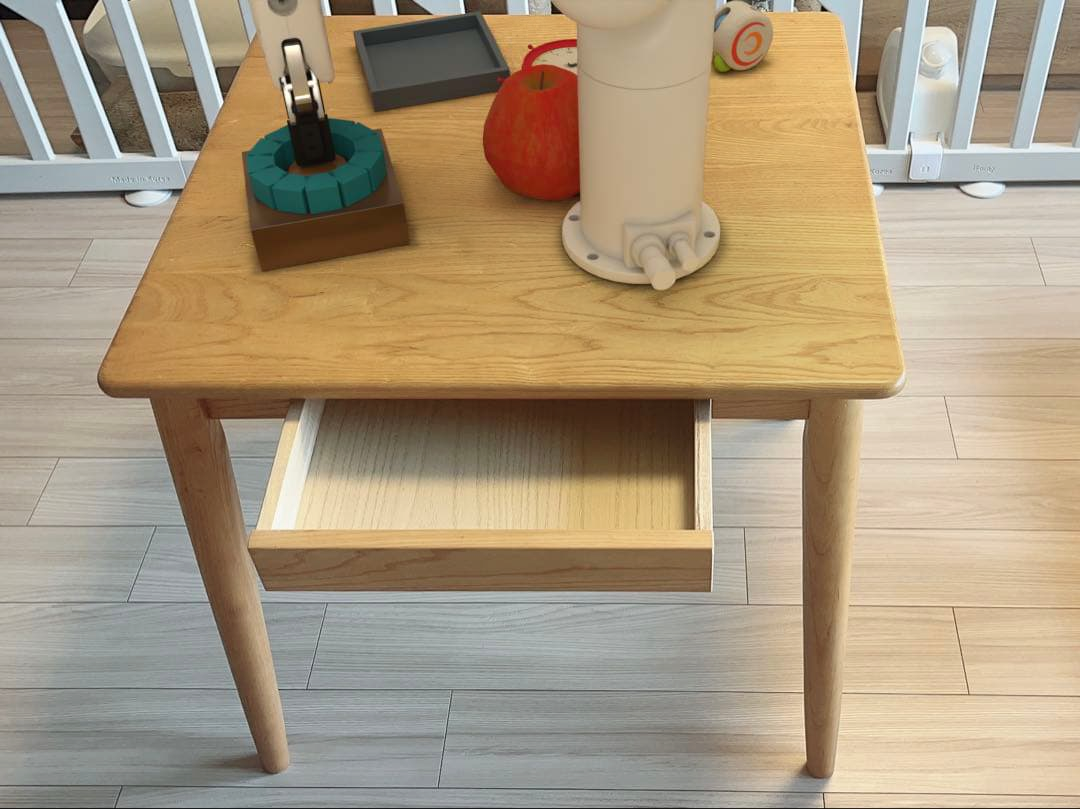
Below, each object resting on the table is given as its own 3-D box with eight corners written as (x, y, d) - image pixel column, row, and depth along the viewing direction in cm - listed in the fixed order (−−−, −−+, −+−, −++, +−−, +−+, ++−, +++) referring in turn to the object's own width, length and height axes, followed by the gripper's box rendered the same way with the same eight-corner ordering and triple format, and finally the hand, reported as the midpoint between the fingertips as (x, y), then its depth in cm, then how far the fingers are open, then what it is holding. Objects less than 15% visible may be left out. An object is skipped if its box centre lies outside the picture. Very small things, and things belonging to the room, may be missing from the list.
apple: (479, 214, 94) (466, 99, 87) (500, 150, 101) (489, 40, 94) (601, 218, 93) (598, 101, 85) (613, 153, 100) (611, 40, 93)
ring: (394, 200, 89) (391, 176, 88) (257, 224, 88) (251, 200, 86) (375, 132, 97) (371, 109, 95) (248, 154, 95) (243, 130, 94)
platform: (409, 244, 92) (402, 194, 88) (261, 271, 90) (248, 221, 86) (387, 168, 100) (379, 119, 97) (251, 191, 98) (239, 143, 95)
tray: (511, 89, 109) (509, 69, 108) (374, 111, 107) (371, 91, 106) (482, 29, 119) (480, 10, 117) (356, 49, 117) (352, 30, 115)
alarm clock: (530, 31, 110) (675, 18, 103) (546, 91, 114) (686, 82, 107) (485, 81, 103) (637, 70, 96) (504, 142, 107) (651, 136, 100)
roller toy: (696, 61, 112) (699, 5, 108) (749, 45, 114) (754, -11, 110) (721, 79, 109) (726, 22, 105) (775, 63, 111) (781, 6, 107)
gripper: (331, -38, 77) (370, 186, 89) (305, -124, 89) (343, 84, 101) (219, -22, 75) (275, 202, 88) (209, -111, 88) (259, 97, 100)
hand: (311, 137), depth 94 cm, fingers open, 6 cm apart
